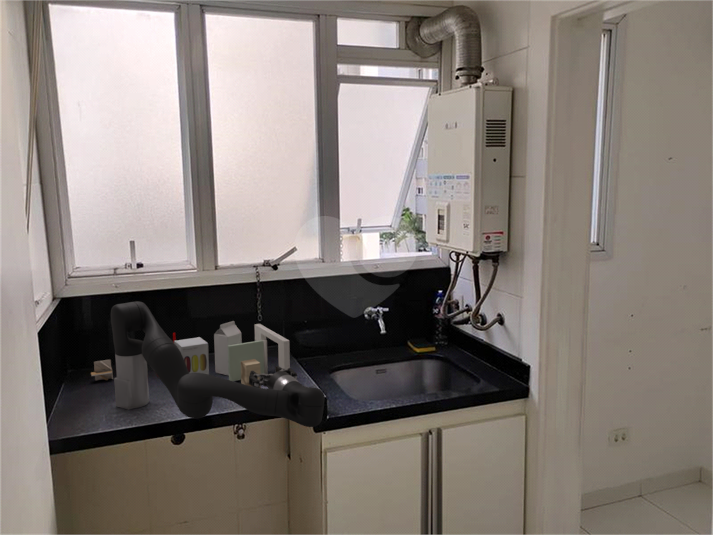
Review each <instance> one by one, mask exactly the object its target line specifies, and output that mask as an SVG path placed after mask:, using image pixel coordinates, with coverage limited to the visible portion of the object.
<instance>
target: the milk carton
mask: <svg viewBox="0 0 713 535" xmlns="http://www.w3.org/2000/svg"><path fill="white" fill-rule="evenodd" d="M213 340H214V342H213V343H214V344H213V345H214V369H215V370H214V371H215V373H216V374H220V375H224V376H228V377H229V369H228V346H229V345H235V344H241V343H243V340H242V332H241V330H240V329H239V328H238V327H237V325H236V323H235V321H234V320H232V321H229V322H225V323H222V324H220V325H219V329H217V330H216V331H215V333H213Z"/></svg>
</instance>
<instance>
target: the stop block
mask: <svg viewBox="0 0 713 535" xmlns="http://www.w3.org/2000/svg"><path fill="white" fill-rule="evenodd" d="M251 371H254V372H256V373H257V374H261V372H260V362H258V361H257V360H255V359H252V360H246V361H241V380H240V383H241V384H244V385H248V386H251V385H250V384H249V376H250V372H251ZM258 379H259V380H260V378H259V377H258ZM260 388H262V386H260Z"/></svg>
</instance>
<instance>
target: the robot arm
mask: <svg viewBox="0 0 713 535" xmlns="http://www.w3.org/2000/svg"><path fill="white" fill-rule="evenodd" d="M110 309H111V310H110V324H111V330H112V340H113V345H114V346H113V347H114V356H115V370H116V371H115V372H116V377H113V380H114V381H113V383H114V397H115V407H118V408H121V409H125V410H132V409H137V408H141V407H144V406H146V405H148V404H149V403H150V393H149V392H150V390H149V375H148V366H149V367H150V369H152V371H153V372H154V373H155V375H156V374H157V375H156V377H157V378H158V379H159V380H160V382H162V383H163V385H164V386H165V388H167V390H168V392H169V393H170V395H171V396H172V399H173V401H174V403H175V405H176V406H177V408H178V410H179V411H180V412H181V414H183V416H186V417H188V418H191V419H194V420H195V419H196V420H197V419H202V418H205V417H206V416H207V415H208V414H210V411H211V409H212V406H213V402H214V397H215V398H221V399H225V400H228V401H230V402H233V403H234V404H237V405H238V406H240V407H241V408H243V409H245V410H246V411H249V412H251V413H254V414H257V415H263V416H268V417H269V416H270V417H271V416H272V417H277V418H278V417H279V418H283V419H286V420H289V421H291V422H294V423H296V424H298V425H300V426H304V427H307V428H313V427H317V426H318V425H320V424H321V422H322V421H323V414H324V406H325V400H326V399H325V398H326V396H325V394H324V391H323V390H321V389H320V388H318V387H309V386H305V385H304V384H302V383H301V382H300V381H298V373H297V372H296V371H295V370H293V369H292V368H291V367H290V368H288V370H285V369H282V368H281V367H279V365H276V366H274V367H275V369H274V370H275V372H274V373H268V374H264V373H262V374H257V373H256V372H254V371H251V372H250V376H249V384H250V385H251V386H248V385H244V384H241V382H237V381H230V380H229V379H227V378H226V379H225V378H223V377H219V376H215V375H212V374H209V375H208V374H204V373H189V372H188V369H187V366H186V364H185V361H184V358H183V356H182V354H181V352H180V350H179V349H178V347H177V346H176V345H175V344H174V342H173V339H172V338H170V337H169V336H168V335H167V333H166V332H165V331H164V329H163V328H162V327H161V325H159V323H158V321H157V320H156V318H155V316H154V314H152V311H151V310H150V309H149V307H148V306H147V305H146V303H145V302H142V301H137V300H136V301H130V302H125V303H124V302H123V303H117V304H115V305H113V306H112V307H111V308H110ZM136 331H141V332H144V334H145V336H144V338H143V340H142V339H136V338H132V337H129V335H128V333H131V332H136ZM258 377H259V378H260V380H259V379H258ZM260 386H261V388H260ZM262 386H264V387H266V388H264V387H262Z"/></svg>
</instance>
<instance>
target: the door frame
mask: <svg viewBox="0 0 713 535" xmlns="http://www.w3.org/2000/svg"><path fill="white" fill-rule="evenodd" d="M267 339H270V340H271V341H273V342H274V343H277V344H278V346H277V348H278V350H277V351H278V352H277V353H278V366H279V367H281V368H282V369H285V370H288V368H291V367H290V366H291V365H290V364H291V360H290V359H291V358H290V354H291V352H290V350H291V349H290V340H289V339H287V338H286V337H284V336H282V335H280V334H279V333H276V332H275V331H273V330H271V329H270V328H268V327H266V326H264V325H263V324H261V323H256V324H255V323H254V341H260V340H267Z"/></svg>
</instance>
